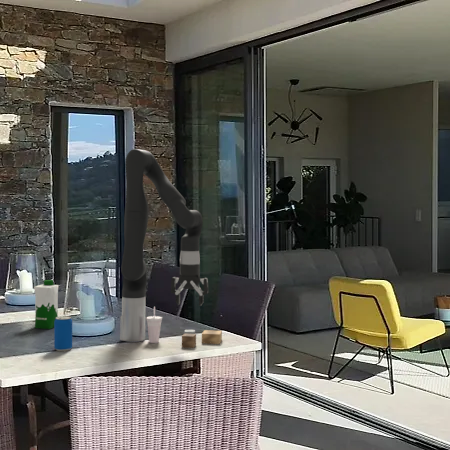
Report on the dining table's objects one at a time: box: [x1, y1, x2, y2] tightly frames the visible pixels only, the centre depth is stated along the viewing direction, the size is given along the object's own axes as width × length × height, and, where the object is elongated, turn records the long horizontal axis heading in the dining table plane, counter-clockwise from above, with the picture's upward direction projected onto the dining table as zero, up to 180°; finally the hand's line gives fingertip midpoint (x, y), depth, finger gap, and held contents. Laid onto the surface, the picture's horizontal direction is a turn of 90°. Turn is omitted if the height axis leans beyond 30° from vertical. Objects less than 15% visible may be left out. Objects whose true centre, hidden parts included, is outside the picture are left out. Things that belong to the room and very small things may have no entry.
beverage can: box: [53, 315, 73, 352], centre depth 248 cm, size 6×6×12 cm
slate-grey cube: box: [184, 329, 196, 334], centre depth 266 cm, size 4×4×4 cm
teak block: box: [201, 329, 223, 345], centre depth 264 cm, size 7×7×4 cm
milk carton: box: [33, 279, 59, 330], centre depth 288 cm, size 9×9×20 cm
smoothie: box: [145, 306, 163, 344], centre depth 262 cm, size 6×6×14 cm
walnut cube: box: [181, 333, 197, 349], centre depth 256 cm, size 4×4×4 cm
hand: (189, 304), depth 255 cm, fingers open, 8 cm apart
